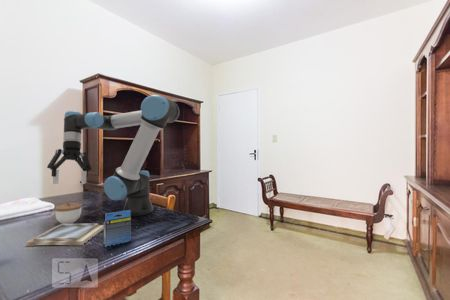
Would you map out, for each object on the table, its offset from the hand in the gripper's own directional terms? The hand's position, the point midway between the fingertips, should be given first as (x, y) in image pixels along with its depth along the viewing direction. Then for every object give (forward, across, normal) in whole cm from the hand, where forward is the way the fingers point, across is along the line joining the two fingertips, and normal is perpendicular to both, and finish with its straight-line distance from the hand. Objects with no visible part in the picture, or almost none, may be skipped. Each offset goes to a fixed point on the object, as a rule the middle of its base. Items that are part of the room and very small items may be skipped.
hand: (70, 183), depth 112 cm
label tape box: (+26, +7, +40) cm, 48 cm away
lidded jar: (+18, 0, 0) cm, 18 cm away
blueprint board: (+22, +11, +17) cm, 30 cm away
